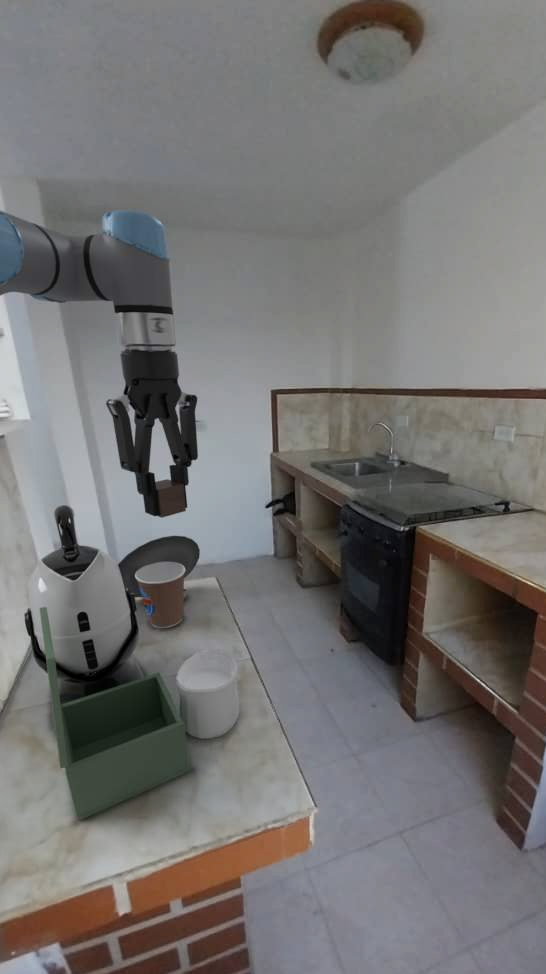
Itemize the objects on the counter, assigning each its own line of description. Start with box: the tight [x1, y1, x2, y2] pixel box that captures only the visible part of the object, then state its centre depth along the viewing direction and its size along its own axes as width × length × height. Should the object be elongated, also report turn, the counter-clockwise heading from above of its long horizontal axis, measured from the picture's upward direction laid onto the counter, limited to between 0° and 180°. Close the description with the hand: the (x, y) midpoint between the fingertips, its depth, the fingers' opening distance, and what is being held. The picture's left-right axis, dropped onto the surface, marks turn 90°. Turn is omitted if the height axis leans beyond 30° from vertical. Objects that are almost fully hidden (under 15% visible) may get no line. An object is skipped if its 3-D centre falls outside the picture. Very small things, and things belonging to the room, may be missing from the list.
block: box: [155, 478, 187, 518], centre depth 71 cm, size 4×4×4 cm
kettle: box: [23, 504, 145, 726], centre depth 74 cm, size 24×16×32 cm, turn 29°
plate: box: [117, 535, 201, 598], centre depth 106 cm, size 21×21×2 cm
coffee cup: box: [135, 562, 185, 629], centre depth 100 cm, size 10×10×12 cm
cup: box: [175, 649, 240, 739], centre depth 73 cm, size 10×10×10 cm
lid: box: [40, 607, 68, 769], centre depth 57 cm, size 15×13×1 cm
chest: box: [61, 672, 191, 821], centre depth 65 cm, size 15×13×9 cm
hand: (166, 509), depth 72 cm, fingers closed on block, 4 cm apart
